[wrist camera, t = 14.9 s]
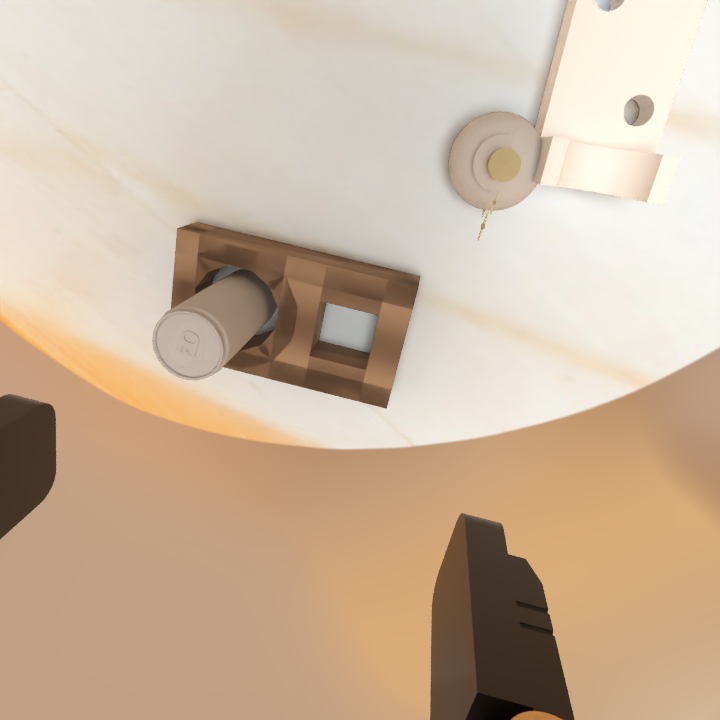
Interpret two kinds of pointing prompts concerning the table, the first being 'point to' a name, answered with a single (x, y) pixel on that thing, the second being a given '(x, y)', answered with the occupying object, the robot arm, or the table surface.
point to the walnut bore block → (305, 310)
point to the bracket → (614, 96)
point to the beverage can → (212, 325)
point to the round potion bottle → (495, 161)
